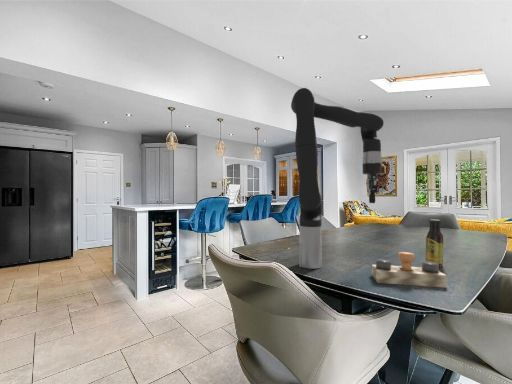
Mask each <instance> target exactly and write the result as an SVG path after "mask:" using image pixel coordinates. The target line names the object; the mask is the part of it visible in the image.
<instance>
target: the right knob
mask: <svg viewBox="0 0 512 384" xmlns="http://www.w3.org/2000/svg"><path fill="white" fill-rule="evenodd" d="M421 267H422V270H424V271H425V272H432V273H435V272H439V271H440V270H439V268H440V267H439V265H438V264H437V263H434V262H426V261H421Z"/></svg>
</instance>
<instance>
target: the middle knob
mask: <svg viewBox="0 0 512 384" xmlns="http://www.w3.org/2000/svg"><path fill="white" fill-rule="evenodd" d="M398 261H401V263H400V264H401V265H400V266H402V271H411V267H412V263H414V262H415V253H413V252H407V251H399V252H398Z"/></svg>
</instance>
